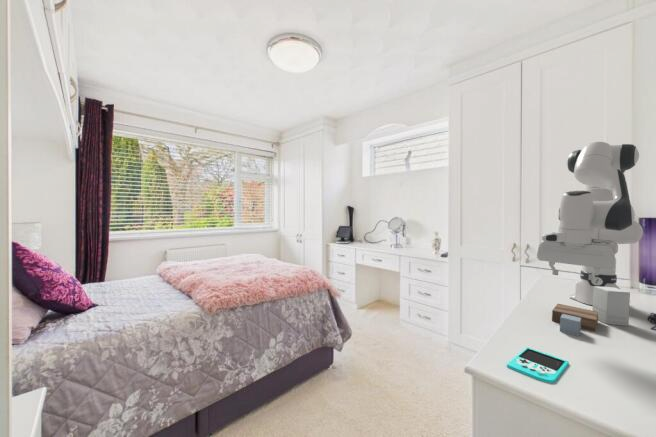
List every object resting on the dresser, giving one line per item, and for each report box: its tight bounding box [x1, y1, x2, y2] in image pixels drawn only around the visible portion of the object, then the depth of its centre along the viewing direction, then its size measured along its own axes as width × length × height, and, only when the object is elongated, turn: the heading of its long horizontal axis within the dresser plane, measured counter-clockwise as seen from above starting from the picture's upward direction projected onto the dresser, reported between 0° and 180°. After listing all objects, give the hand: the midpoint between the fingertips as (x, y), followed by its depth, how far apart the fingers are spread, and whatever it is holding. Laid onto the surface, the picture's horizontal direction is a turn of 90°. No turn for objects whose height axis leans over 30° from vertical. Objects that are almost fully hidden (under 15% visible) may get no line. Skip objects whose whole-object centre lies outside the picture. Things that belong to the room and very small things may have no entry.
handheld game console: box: [506, 347, 570, 384], centre depth 75 cm, size 10×16×1 cm, turn 128°
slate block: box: [559, 314, 582, 337], centre depth 97 cm, size 5×5×5 cm
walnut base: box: [551, 303, 599, 332], centre depth 105 cm, size 12×12×4 cm
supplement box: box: [592, 286, 631, 327], centre depth 106 cm, size 7×7×13 cm
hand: (572, 277), depth 96 cm, fingers open, 8 cm apart
